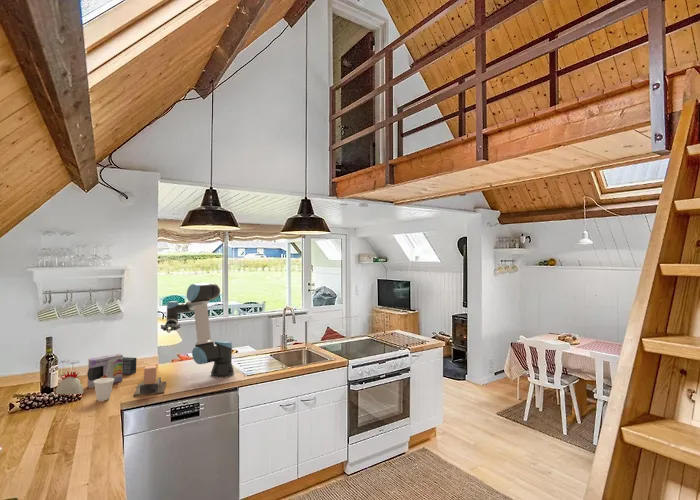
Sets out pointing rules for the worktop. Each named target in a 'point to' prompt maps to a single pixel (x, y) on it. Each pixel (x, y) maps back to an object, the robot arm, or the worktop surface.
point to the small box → (129, 366)
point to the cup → (103, 388)
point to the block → (150, 374)
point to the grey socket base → (150, 388)
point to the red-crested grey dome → (70, 385)
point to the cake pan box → (105, 368)
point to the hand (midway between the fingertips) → (169, 330)
